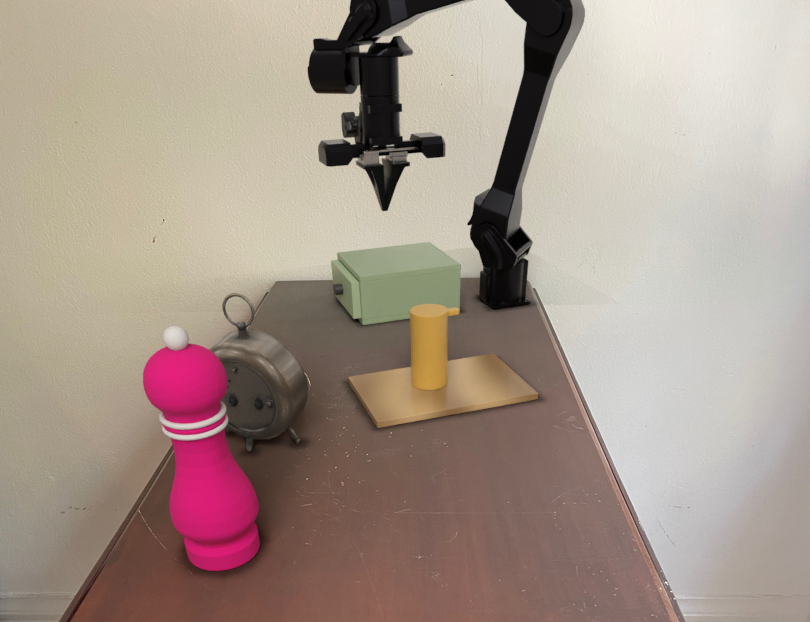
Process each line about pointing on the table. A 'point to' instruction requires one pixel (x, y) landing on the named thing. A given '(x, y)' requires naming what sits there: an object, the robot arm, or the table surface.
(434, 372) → the yellow cylinder
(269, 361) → the alarm clock
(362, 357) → the table surface
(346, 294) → the drawer
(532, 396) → the board
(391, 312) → the cabinet
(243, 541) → the pepper mill
